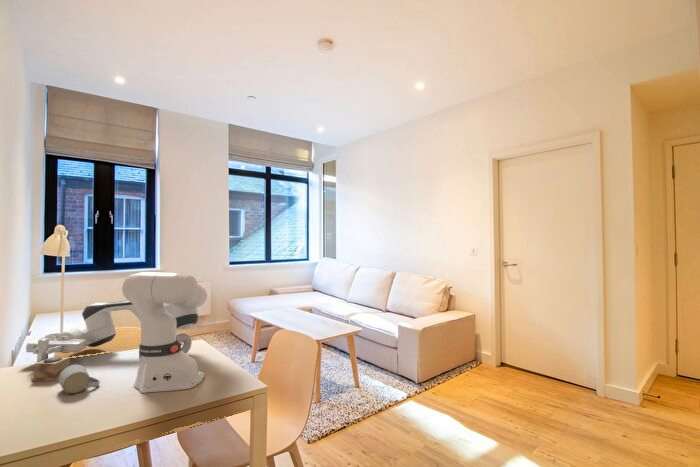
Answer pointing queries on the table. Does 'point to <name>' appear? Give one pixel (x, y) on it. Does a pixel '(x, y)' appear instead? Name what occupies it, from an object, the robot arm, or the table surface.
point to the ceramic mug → (76, 379)
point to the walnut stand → (50, 368)
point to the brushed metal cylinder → (42, 349)
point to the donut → (184, 342)
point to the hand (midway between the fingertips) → (40, 351)
